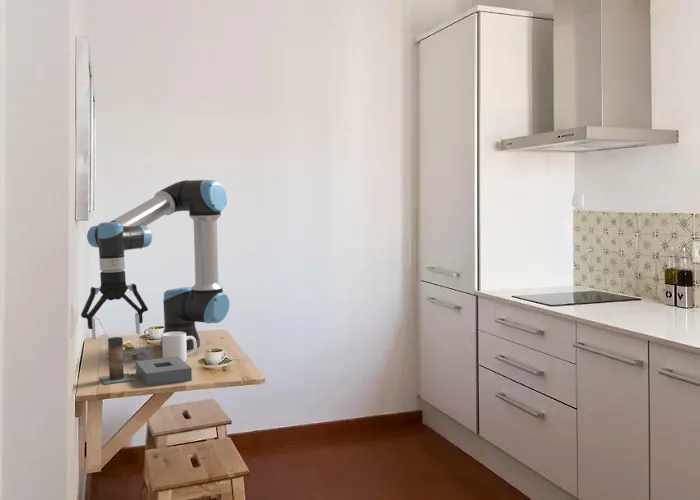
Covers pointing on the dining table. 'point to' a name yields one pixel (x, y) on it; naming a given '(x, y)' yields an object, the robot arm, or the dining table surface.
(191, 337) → the cup
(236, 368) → the dining table surface
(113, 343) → the plug
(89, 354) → the dining table surface
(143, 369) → the socket block
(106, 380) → the mat
